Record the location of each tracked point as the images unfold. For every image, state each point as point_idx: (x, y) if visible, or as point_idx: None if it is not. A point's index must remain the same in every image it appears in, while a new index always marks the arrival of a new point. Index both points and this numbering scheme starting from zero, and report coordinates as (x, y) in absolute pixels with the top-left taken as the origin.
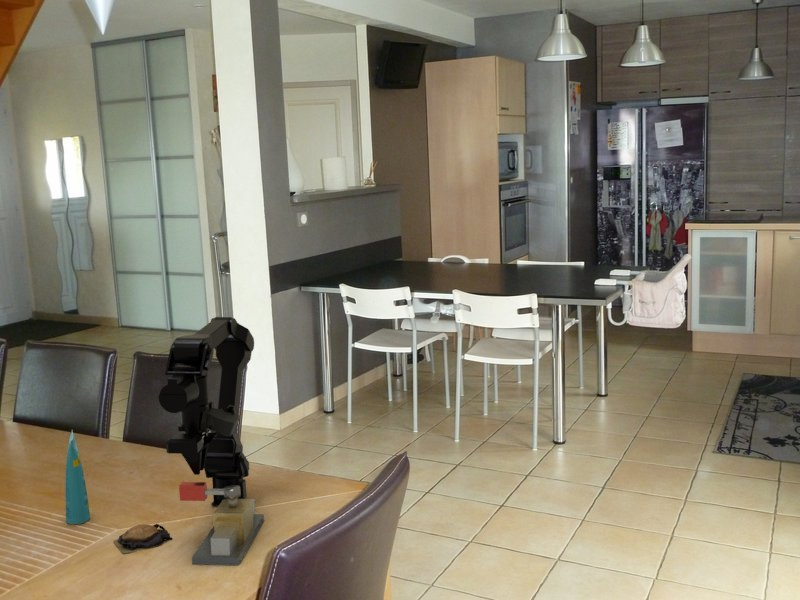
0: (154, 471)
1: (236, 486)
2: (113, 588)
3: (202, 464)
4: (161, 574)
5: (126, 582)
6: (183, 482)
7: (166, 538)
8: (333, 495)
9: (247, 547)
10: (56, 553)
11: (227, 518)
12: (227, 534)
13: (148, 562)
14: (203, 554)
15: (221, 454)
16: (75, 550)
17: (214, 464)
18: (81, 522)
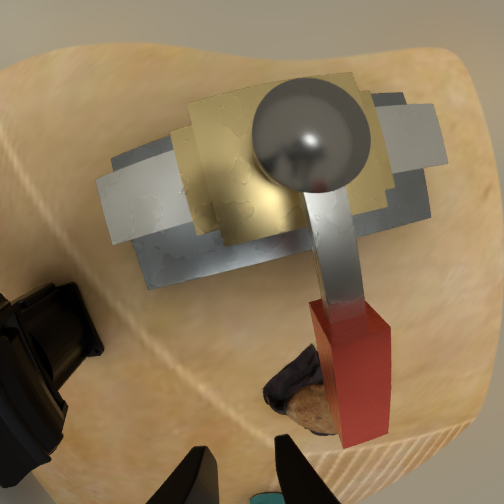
0: (71, 471)
1: (276, 115)
2: (493, 307)
3: (200, 476)
4: (460, 258)
5: (481, 302)
6: (348, 442)
7: (310, 359)
8: None
9: None
10: (386, 459)
11: None
12: (414, 118)
13: (421, 319)
14: (415, 193)
15: (2, 410)
16: (376, 450)
17: (41, 411)
18: (281, 494)
